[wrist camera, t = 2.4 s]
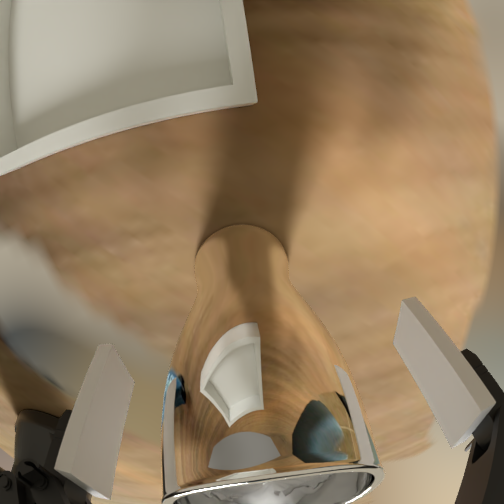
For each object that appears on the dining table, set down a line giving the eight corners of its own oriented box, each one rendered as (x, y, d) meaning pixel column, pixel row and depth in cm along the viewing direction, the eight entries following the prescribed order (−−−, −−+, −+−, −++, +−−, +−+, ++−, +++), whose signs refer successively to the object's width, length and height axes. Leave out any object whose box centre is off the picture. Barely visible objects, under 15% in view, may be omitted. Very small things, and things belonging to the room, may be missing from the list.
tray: (19, 168, 15) (-7, 178, 12) (12, -16, 8) (-9, -25, 5) (251, 105, 15) (257, 102, 12) (220, -90, 8) (221, -113, 5)
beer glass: (172, 235, 18) (100, 480, 5) (281, 203, 18) (413, 428, 4) (208, 320, 21) (208, 531, 8) (301, 295, 21) (379, 498, 7)
